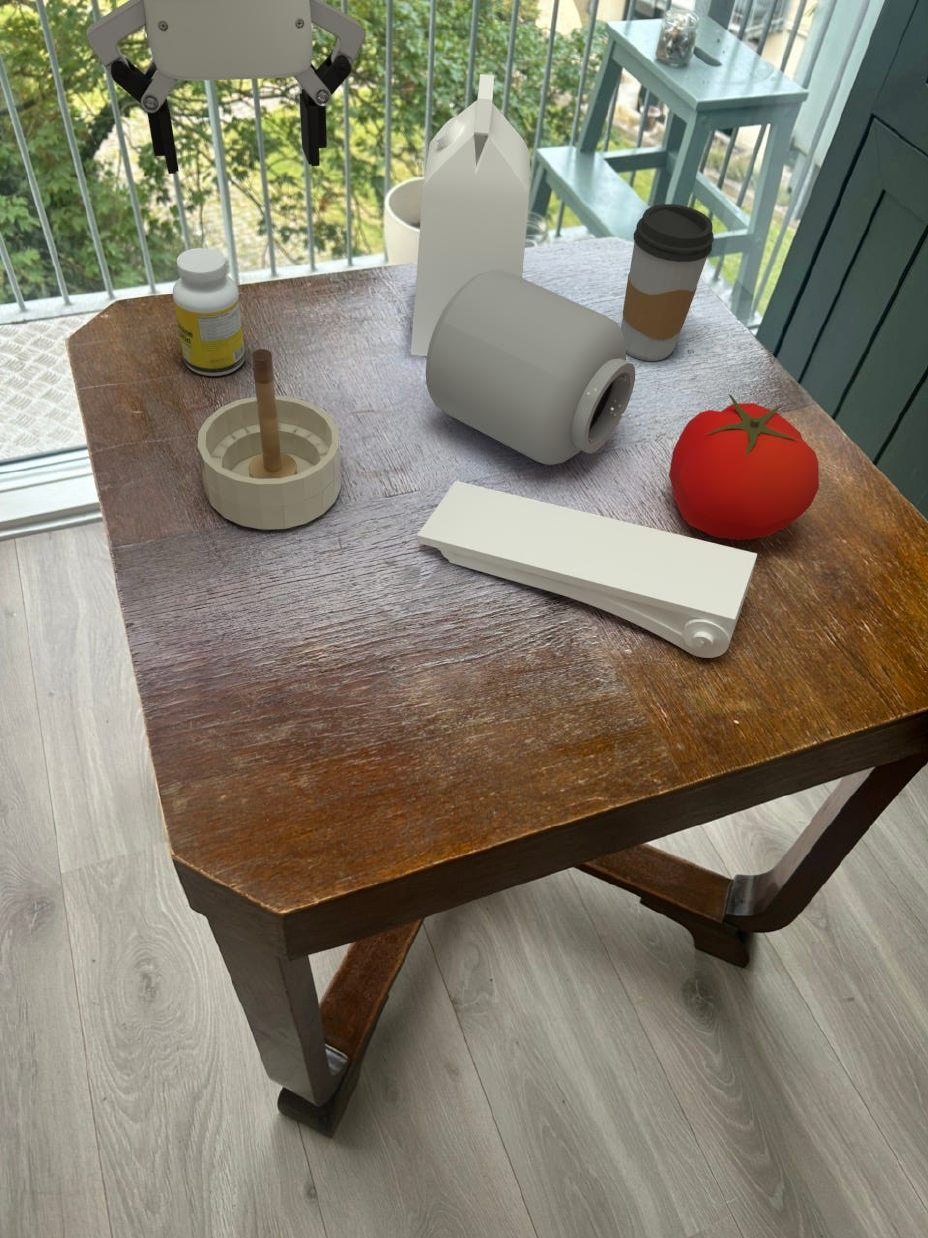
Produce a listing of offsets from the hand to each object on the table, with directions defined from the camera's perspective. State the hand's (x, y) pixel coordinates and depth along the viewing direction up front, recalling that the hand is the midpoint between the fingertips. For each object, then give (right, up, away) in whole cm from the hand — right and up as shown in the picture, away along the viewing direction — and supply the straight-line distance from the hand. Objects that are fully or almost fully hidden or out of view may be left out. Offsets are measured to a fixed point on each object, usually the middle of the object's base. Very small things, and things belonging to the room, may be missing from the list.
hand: (242, 161), depth 67 cm
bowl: (-2, -20, +23) cm, 30 cm away
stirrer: (-2, -19, +22) cm, 30 cm away
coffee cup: (+36, -1, +43) cm, 57 cm away
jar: (+25, -14, +31) cm, 42 cm away
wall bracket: (+26, -28, +19) cm, 43 cm away
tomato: (+41, -22, +25) cm, 53 cm away
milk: (+16, +1, +43) cm, 46 cm away
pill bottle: (-11, -5, +35) cm, 37 cm away
